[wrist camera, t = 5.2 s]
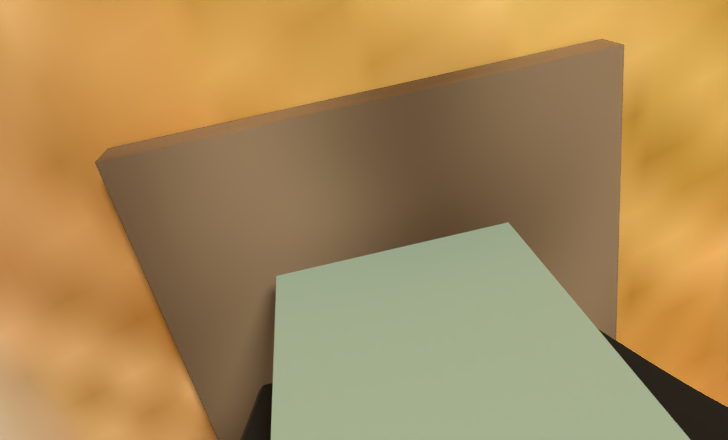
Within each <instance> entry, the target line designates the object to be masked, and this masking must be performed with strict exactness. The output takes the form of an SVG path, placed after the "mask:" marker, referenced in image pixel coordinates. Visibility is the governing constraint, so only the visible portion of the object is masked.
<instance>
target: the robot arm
mask: <svg viewBox="0 0 728 440" xmlns="http://www.w3.org/2000/svg"><path fill="white" fill-rule="evenodd" d="M597 329H598V328H597ZM598 330H599V329H598ZM599 331H600V332H601V333H602V335H603V336H604V337H605V338H606V339H607V341H608V342H609V343H610V344H611V345H612V347H613V348H614V349H615V350H616V351H617V353H618V354H619V355H620V356H621V357H622V359H623V360H624V361H625V362H626V363H627V365H628V366H629V367H630V368H631V369H632V371H633V372H634V373H635V374H636V375H637V377H638V378H639V379H640V380H641V381H642V382H643V384H644V385H645V386H646V387H647V388H648V390H649V391H650V392H651V393H652V394H653V396H654V397H655V398H656V399H657V400H658V402H659V403H660V404H661V405H662V406H663V408H664V409H665V410H666V411H667V412H668V414H669V415H670V416H671V417H672V418H673V420H674V421H675V422H676V423H677V424H678V425H679V427H680V428H681V429H682V430H683V431H684V433H685V434H686V435H687V436H688V437H689V439H690V440H728V407H726V406H724V405H722V404H721V403H719V402H717V401H715V400H713V399H711V398H710V397H708V396H706V395H704V394H702V393H701V392H699V391H697V390H695V389H694V388H692V387H690V386H689V385H687V384H685V383H683V382H682V381H680V380H678V379H677V378H675V377H673V376H672V375H670V374H668V373H667V372H665V371H664V370H662V369H660V368H659V367H657V366H655V365H654V364H652V363H650V362H649V361H647V360H646V359H644V358H642V357H641V356H639V355H638V354H636V353H635V352H633V351H631V350H630V349H628V348H627V347H625V346H624V345H622V344H621V343H619V342H617V341H616V340H614V339H613V338H611V337H610V336H608V335H607V334H605V333H604V332H602V331H601V330H599ZM272 388H273V383H270V384H266V385H263V386H262V388H261V389H260V390H259V392H258V395H257V398H256V401H255V403H254V406H253V409H252V412H251V414H250V417H249V419H248V422H247V424H246V427H245V430H244V432H243V434H242V437H241V439H240V440H271V417H272Z"/></svg>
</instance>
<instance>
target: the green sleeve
mask: <svg viewBox="0 0 728 440" xmlns="http://www.w3.org/2000/svg"><path fill="white" fill-rule="evenodd" d="M271 440H690V439H689V437H688V436H687V435H686V434H685V433H684V431H683V430H682V429H681V428H680V427H679V425H678V424H677V423H676V422H675V421H674V420H673V418H672V417H671V416H670V415H669V414H668V412H667V411H666V410H665V409H664V408H663V406H662V405H661V404H660V403H659V402H658V400H657V399H656V398H655V397H654V396H653V394H652V393H651V392H650V391H649V390H648V388H647V387H646V386H645V385H644V384H643V382H642V381H641V380H640V379H639V378H638V377H637V375H636V374H635V373H634V372H633V371H632V369H631V368H630V367H629V366H628V365H627V363H626V362H625V361H624V360H623V359H622V357H621V356H620V355H619V354H618V353H617V351H616V350H615V349H614V348H613V347H612V345H611V344H610V343H609V342H608V341H607V339H606V338H605V337H604V336H603V335H602V333H601V332H600V331H599V330H598V329H597V328H596V326H595V325H594V324H593V323H592V322H591V320H590V319H589V318H588V317H587V316H586V314H585V313H584V312H583V311H582V310H581V308H580V307H579V306H578V305H577V304H576V302H575V301H574V300H573V299H572V298H571V296H570V295H569V294H568V293H567V292H566V290H565V289H564V288H563V287H562V286H561V285H560V283H559V282H558V281H557V280H556V279H555V277H554V276H553V275H552V274H551V273H550V271H549V270H548V269H547V268H546V267H545V265H544V264H543V263H542V262H541V261H540V259H539V258H538V257H537V256H536V255H535V253H534V252H533V251H532V250H531V249H530V247H529V246H528V245H527V244H526V243H525V241H524V240H523V239H522V238H521V237H520V236H519V234H518V233H517V232H516V231H515V230H514V228H513V227H512V226H511V225H510V224H509V222H507V223H503V224H499V225H495V226H490V227H486V228H482V229H477V230H473V231H469V232H464V233H460V234H456V235H451V236H447V237H443V238H438V239H434V240H430V241H425V242H421V243H417V244H412V245H408V246H404V247H399V248H395V249H391V250H386V251H382V252H378V253H374V254H369V255H365V256H361V257H356V258H352V259H348V260H343V261H339V262H335V263H330V264H326V265H322V266H317V267H313V268H309V269H304V270H300V271H296V272H291V273H287V274H283V275H278V276H276V302H275V331H274V360H273V388H272V417H271Z"/></svg>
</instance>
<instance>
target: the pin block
mask: <svg viewBox="0 0 728 440" xmlns="http://www.w3.org/2000/svg"><path fill="white" fill-rule="evenodd" d="M623 66H624V45H623V44H619V43H615V42H612V41H608V40H604V39H600V40H595V41H591V42H586V43H582V44H577V45H573V46H568V47H564V48H559V49H555V50H550V51H546V52H541V53H537V54H532V55H528V56H523V57H519V58H514V59H510V60H505V61H501V62H496V63H492V64H487V65H483V66H478V67H474V68H469V69H465V70H460V71H456V72H451V73H447V74H442V75H438V76H433V77H429V78H424V79H420V80H415V81H411V82H406V83H402V84H397V85H393V86H388V87H384V88H379V89H374V90H370V91H365V92H361V93H356V94H352V95H347V96H343V97H338V98H334V99H329V100H325V101H320V102H316V103H311V104H307V105H302V106H298V107H293V108H289V109H284V110H280V111H275V112H271V113H266V114H262V115H257V116H253V117H248V118H244V119H239V120H235V121H230V122H226V123H221V124H217V125H212V126H208V127H203V128H199V129H194V130H190V131H185V132H181V133H176V134H172V135H167V136H163V137H158V138H154V139H149V140H145V141H140V142H136V143H131V144H127V145H122V146H118V147H113V148H109V149H107V150H106V151H105V152H104V153H103V155H102V156H101V157H100V158H99V159H98V160H97V161H96V162H95V163H96V166H97V168H98V170H99V172H100V175H101V177H102V179H103V181H104V184H105V186H106V188H107V190H108V193H109V195H110V197H111V199H112V202H113V204H114V206H115V208H116V211H117V213H118V215H119V218H120V220H121V222H122V224H123V227H124V229H125V231H126V233H127V236H128V238H129V240H130V242H131V245H132V247H133V249H134V251H135V254H136V256H137V258H138V260H139V263H140V265H141V267H142V269H143V272H144V274H145V276H146V278H147V281H148V283H149V285H150V287H151V290H152V292H153V294H154V296H155V299H156V301H157V303H158V305H159V308H160V310H161V312H162V314H163V317H164V319H165V321H166V323H167V326H168V328H169V330H170V332H171V335H172V337H173V339H174V341H175V344H176V346H177V348H178V350H179V353H180V355H181V357H182V359H183V362H184V364H185V366H186V368H187V371H188V373H189V375H190V377H191V380H192V382H193V384H194V386H195V389H196V391H197V393H198V395H199V398H200V400H201V402H202V404H203V407H204V409H205V411H206V413H207V416H208V418H209V420H210V422H211V425H212V427H213V429H214V431H215V434H216V436H217V438H218V440H240V439H241V437H242V434H243V432H244V430H245V427H246V424H247V422H248V419H249V417H250V414H251V412H252V409H253V406H254V403H255V401H256V398H257V395H258V392H259V390H260V389H261V388H262V386H263V385H266V384H270V383H273V360H274V331H275V302H276V276H278V275H283V274H287V273H291V272H296V271H300V270H304V269H309V268H313V267H317V266H322V265H326V264H330V263H335V262H339V261H343V260H348V259H352V258H356V257H361V256H365V255H369V254H374V253H378V252H382V251H386V250H391V249H395V248H399V247H404V246H408V245H412V244H417V243H421V242H425V241H430V240H434V239H438V238H443V237H447V236H451V235H456V234H460V233H464V232H469V231H473V230H477V229H482V228H486V227H490V226H495V225H499V224H503V223H507V222H509V224H510V225H511V226H512V227H513V228H514V230H515V231H516V232H517V233H518V234H519V236H520V237H521V238H522V239H523V240H524V241H525V243H526V244H527V245H528V246H529V247H530V249H531V250H532V251H533V252H534V253H535V255H536V256H537V257H538V258H539V259H540V261H541V262H542V263H543V264H544V265H545V267H546V268H547V269H548V270H549V271H550V273H551V274H552V275H553V276H554V277H555V279H556V280H557V281H558V282H559V283H560V285H561V286H562V287H563V288H564V289H565V290H566V292H567V293H568V294H569V295H570V296H571V298H572V299H573V300H574V301H575V302H576V304H577V305H578V306H579V307H580V308H581V310H582V311H583V312H584V313H585V314H586V316H587V317H588V318H589V319H590V320H591V322H592V323H593V324H594V325H595V326H596V328H598V329H599V330H601V331H602V332H604V333H605V334H607V335H608V336H610V337H611V338H613V339H614V340H616V320H617V283H618V247H619V211H620V175H621V139H622V102H623Z"/></svg>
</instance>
